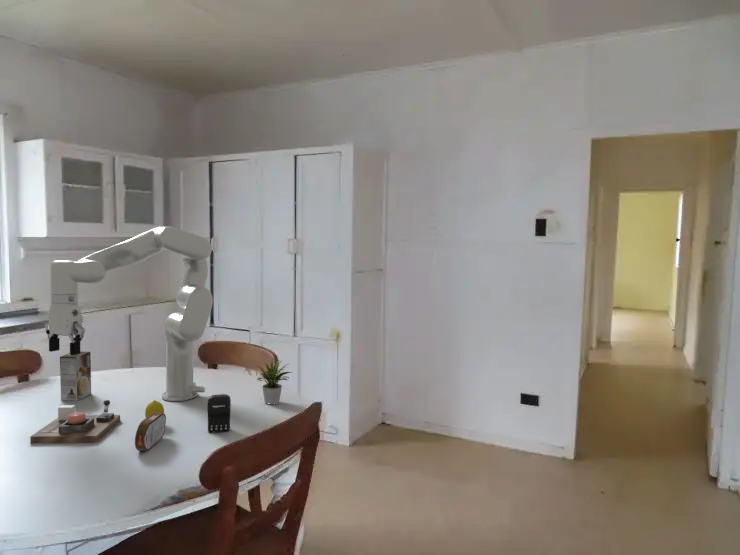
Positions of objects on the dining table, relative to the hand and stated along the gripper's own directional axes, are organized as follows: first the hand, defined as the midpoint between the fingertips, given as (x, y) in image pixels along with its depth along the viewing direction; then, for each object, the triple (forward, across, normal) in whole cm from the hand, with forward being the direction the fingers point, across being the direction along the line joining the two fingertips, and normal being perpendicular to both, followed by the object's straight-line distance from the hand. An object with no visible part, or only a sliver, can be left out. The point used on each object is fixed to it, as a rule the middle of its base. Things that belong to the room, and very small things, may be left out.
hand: (64, 352), depth 167 cm
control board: (+22, -13, +5) cm, 26 cm away
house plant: (+21, -48, -44) cm, 69 cm away
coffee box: (+22, +18, -18) cm, 34 cm away
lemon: (+22, -29, -10) cm, 37 cm away
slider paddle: (+20, -6, +3) cm, 21 cm away
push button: (+18, -15, +7) cm, 24 cm away
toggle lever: (+18, -16, -2) cm, 24 cm away
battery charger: (+22, -50, -14) cm, 56 cm away
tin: (+22, -40, +2) cm, 46 cm away
